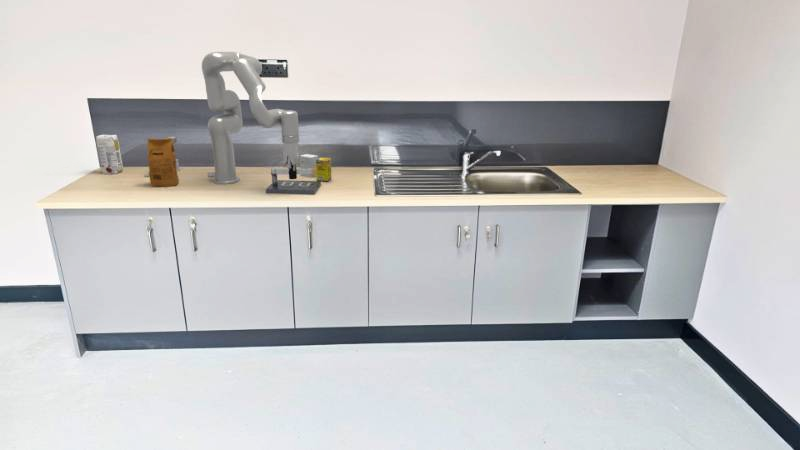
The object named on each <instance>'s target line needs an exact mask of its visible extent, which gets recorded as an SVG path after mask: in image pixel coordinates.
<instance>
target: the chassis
mask: <svg viewBox="0 0 800 450" xmlns="http://www.w3.org/2000/svg"><path fill="white" fill-rule="evenodd" d="M321 186H322V182H321V181H317V180H293V179H289V180H286V179H278V175H271V183H270V184H269V186H267V187H266V188H265V193H266V194H271V195H272V194H277V195H278V194H279V195H308V196H309V195H310V196H311V195H312V196H315V195H316V193H317V192H318V191H319V189H320V187H321Z"/></svg>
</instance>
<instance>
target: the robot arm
mask: <svg viewBox="0 0 800 450" xmlns="http://www.w3.org/2000/svg"><path fill="white" fill-rule="evenodd" d="M201 71H202V75H203V79H204V83H205V93H206V98H207V105H208V108H209V110H210V111H211V112H213V113H223V114H217V115H214V116H212V117H211V118H209V120H208V122H207V129H208V132H209V136H210V139H211V140H210V141H211V148H212V155H213V156H212V157H213V163H214V164H213V167H214V171H213V172H212V171H208V172H206V173H207V177H208V178H212V182H213V183H214V184H219V185H228V184H229V185H230V184H234V183H238V182H240V181H241V179H240V178H241V177H240V176H237V172H236V161H235V158H236V157H235V150H234V148H235V147H234V143H233V140H232V138H231V137H230V135H232V134H236V133H239V132H240V131H241V130H242V128H243V124H244V123H243V122H244V121H243V114H242V113H243V112H242V105H241V100H240V97H239V96H238V94H237V93H236V92H235V91H234V90H230V89H226V82H225V79H224V77H223V75H222V72H233V73H234V74H235V76H236V77H237V79H238V81H239V83H241V85H242V87H243V88H244V90H245V92H246V93H247V95H248V103H249V104H248V105H249V109H250V112H251V113H252V116H253V117H254V119H255V120H256V121H257V123H258V124H259V125H260V126H261V127H262V128H264V129H271V128H274V127H275V128H276V127H280V128H281V129H280V130H281V142H282V144H283V146H282V162H283V165H284V166H286V165H287V169H288V170H289V174H288V179H289V180H297V178H298V177H297V175H298V174H297V171H296V169H297V163H298V162H300V153H299V143H300V130H299V114H298V112H297V111H296V110H293V109H292V110H291V109H290V110H288V109H287V110H286V109H282V108H274V109H272V108H271V109H267V107H266V105H265V104H264V102H263V99H262V94H263V93H264V92H265V90H266V85H265V83H264V81H263V80H262V78H261V77H260V75H262V72H263V66H262V62H260V61H259V59H258V58H256V57H254V56H251V55H250V56H249V55H247V54H243V53H241V52H240V53H239V52H237V51H213V52H210V53H207V54H206V55H205V56H204V57H203V59H202V62H201Z"/></svg>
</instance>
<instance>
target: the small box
mask: <svg viewBox="0 0 800 450" xmlns="http://www.w3.org/2000/svg"><path fill="white" fill-rule="evenodd" d="M317 159H319V155H317V154H316V155H315V154H309V153H305V154H301V155H299V165H300V166H299V169H309V168H316V160H317ZM300 176H302V177H306V178H312V179H313V178H315V177H316V178H317V174H300Z"/></svg>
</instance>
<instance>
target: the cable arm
mask: <svg viewBox="0 0 800 450" xmlns="http://www.w3.org/2000/svg"><path fill="white" fill-rule="evenodd" d="M296 171H297V175H301V174H316V168H309V169H300V168H296ZM270 175H271V176H272V175H277V176H279V175H281V176H282V175H289V170H288V168H270Z"/></svg>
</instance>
